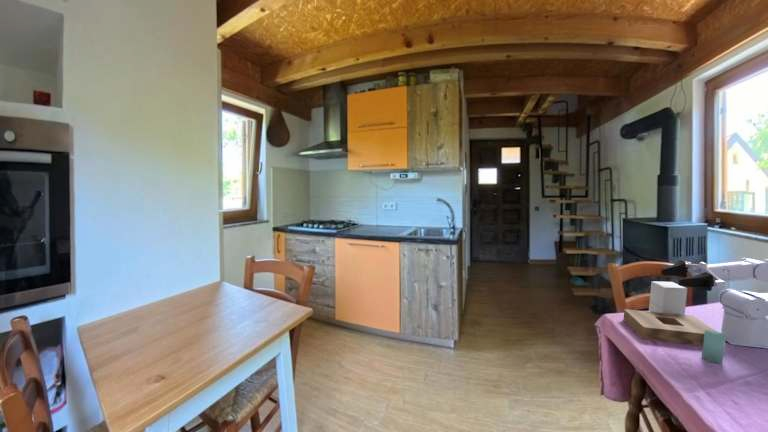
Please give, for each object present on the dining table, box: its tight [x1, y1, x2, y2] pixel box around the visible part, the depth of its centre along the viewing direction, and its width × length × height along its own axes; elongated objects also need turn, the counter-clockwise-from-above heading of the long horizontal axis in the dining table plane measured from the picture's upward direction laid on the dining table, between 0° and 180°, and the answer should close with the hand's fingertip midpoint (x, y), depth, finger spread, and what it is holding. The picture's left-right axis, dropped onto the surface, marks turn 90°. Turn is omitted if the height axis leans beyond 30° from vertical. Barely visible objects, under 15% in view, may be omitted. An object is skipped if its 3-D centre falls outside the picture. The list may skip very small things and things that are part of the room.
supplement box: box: [648, 280, 688, 315], centre depth 112 cm, size 7×7×13 cm
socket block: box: [623, 308, 716, 347], centre depth 101 cm, size 20×14×4 cm
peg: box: [701, 330, 726, 365], centre depth 86 cm, size 4×4×8 cm
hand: (670, 277), depth 97 cm, fingers open, 7 cm apart
